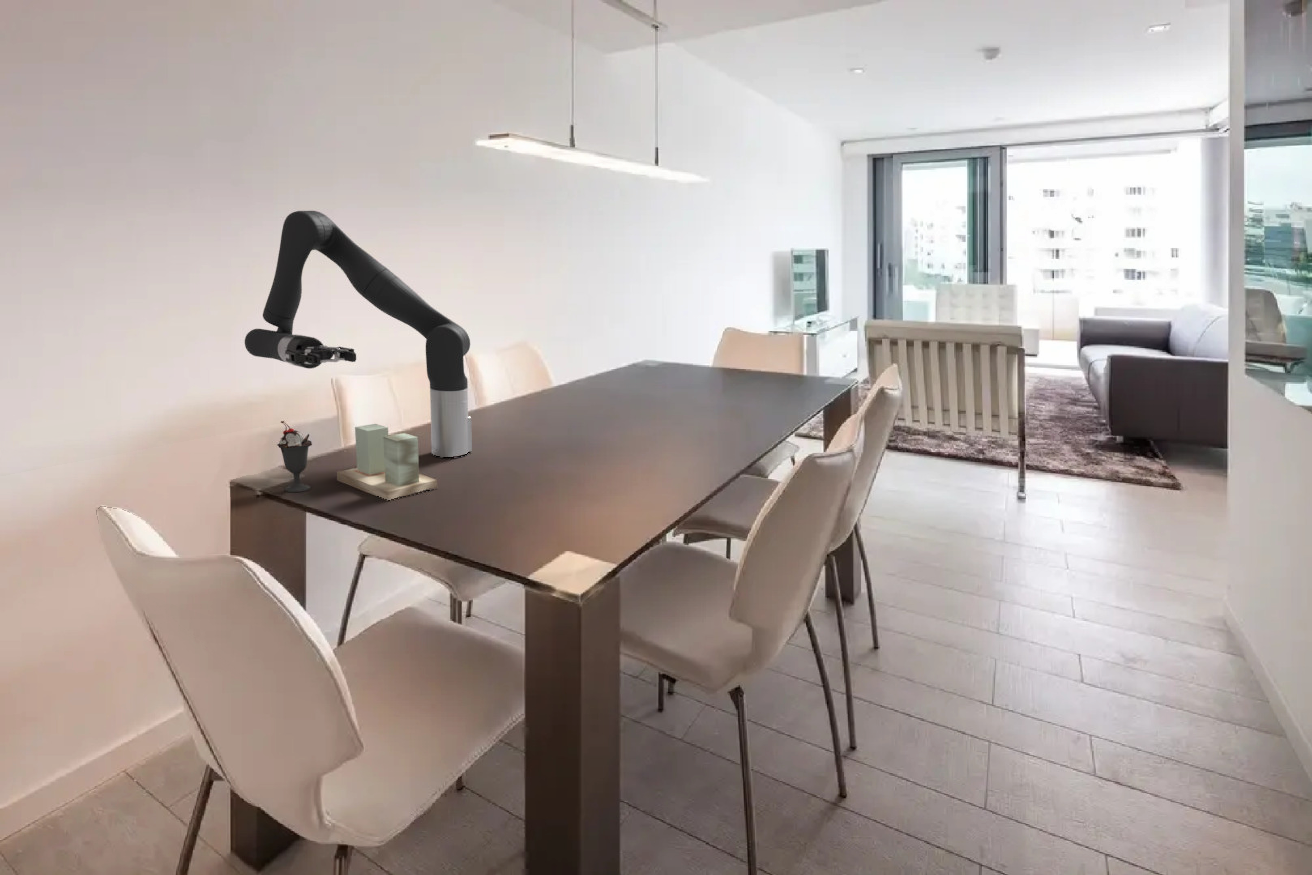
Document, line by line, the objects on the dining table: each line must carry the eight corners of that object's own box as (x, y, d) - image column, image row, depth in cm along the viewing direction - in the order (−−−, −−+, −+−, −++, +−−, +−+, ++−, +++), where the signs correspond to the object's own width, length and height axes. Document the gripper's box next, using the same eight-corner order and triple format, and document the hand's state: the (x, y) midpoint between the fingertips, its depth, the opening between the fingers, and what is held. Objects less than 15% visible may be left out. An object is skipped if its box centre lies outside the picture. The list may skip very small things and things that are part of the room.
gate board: (385, 470, 173) (383, 420, 170) (437, 488, 161) (435, 435, 159) (337, 480, 164) (334, 428, 161) (388, 500, 152) (386, 444, 149)
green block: (377, 466, 168) (375, 423, 166) (389, 470, 165) (388, 427, 163) (357, 470, 165) (354, 427, 162) (369, 474, 162) (367, 430, 159)
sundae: (274, 488, 156) (268, 420, 153) (305, 482, 161) (300, 416, 158) (289, 495, 152) (283, 425, 149) (320, 489, 157) (316, 421, 154)
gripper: (269, 336, 170) (305, 344, 161) (328, 334, 181) (364, 340, 172) (272, 368, 172) (307, 377, 163) (330, 364, 183) (366, 372, 174)
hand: (336, 358), depth 167 cm, fingers open, 8 cm apart
